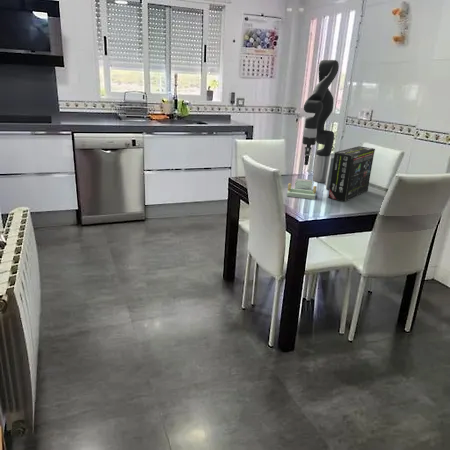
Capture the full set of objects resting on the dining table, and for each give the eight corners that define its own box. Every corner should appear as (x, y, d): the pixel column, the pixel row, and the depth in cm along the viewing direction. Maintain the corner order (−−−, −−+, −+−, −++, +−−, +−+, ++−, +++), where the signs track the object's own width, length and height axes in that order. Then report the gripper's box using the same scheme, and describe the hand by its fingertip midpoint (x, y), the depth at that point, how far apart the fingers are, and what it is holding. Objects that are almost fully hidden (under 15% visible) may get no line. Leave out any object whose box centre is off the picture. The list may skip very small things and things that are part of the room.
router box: (351, 187, 255) (358, 145, 246) (368, 191, 249) (376, 148, 240) (326, 198, 229) (333, 151, 220) (344, 202, 223) (352, 154, 213)
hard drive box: (338, 190, 245) (343, 158, 238) (326, 189, 247) (330, 157, 240) (337, 184, 260) (342, 154, 253) (325, 183, 261) (329, 153, 254)
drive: (294, 187, 247) (295, 178, 245) (310, 189, 246) (312, 179, 244) (294, 189, 242) (295, 180, 240) (311, 191, 241) (312, 181, 239)
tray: (288, 191, 238) (289, 181, 236) (315, 194, 235) (317, 184, 233) (286, 195, 228) (287, 185, 226) (315, 199, 225) (316, 188, 223)
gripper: (303, 133, 240) (300, 160, 245) (302, 137, 227) (299, 165, 232) (316, 135, 238) (313, 161, 244) (315, 138, 225) (312, 166, 231)
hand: (306, 163), depth 238 cm, fingers open, 8 cm apart
